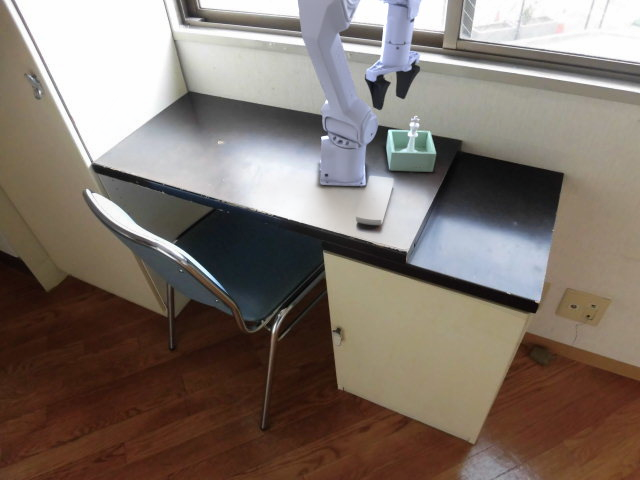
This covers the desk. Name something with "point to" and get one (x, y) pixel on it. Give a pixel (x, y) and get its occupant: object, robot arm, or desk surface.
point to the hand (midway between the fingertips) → (389, 102)
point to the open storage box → (409, 158)
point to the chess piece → (412, 135)
